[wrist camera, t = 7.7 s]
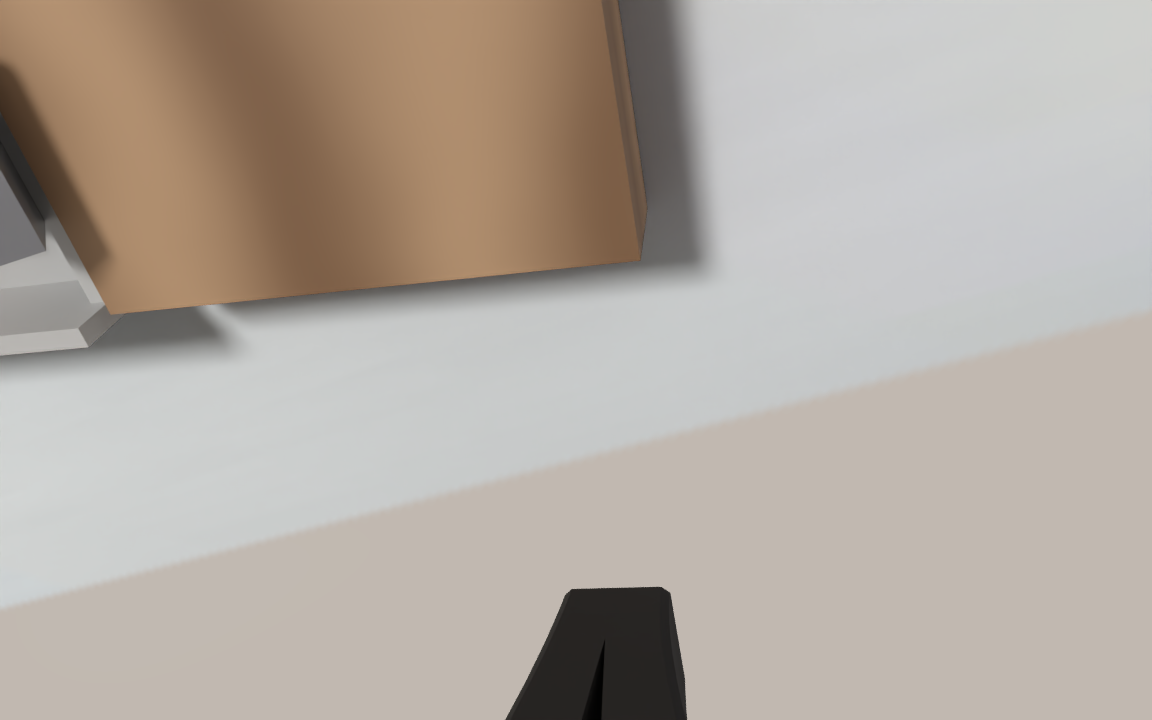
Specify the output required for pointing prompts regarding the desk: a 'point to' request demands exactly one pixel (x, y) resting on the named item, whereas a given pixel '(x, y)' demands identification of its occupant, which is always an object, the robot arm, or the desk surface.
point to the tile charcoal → (18, 216)
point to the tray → (47, 284)
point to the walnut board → (324, 141)
